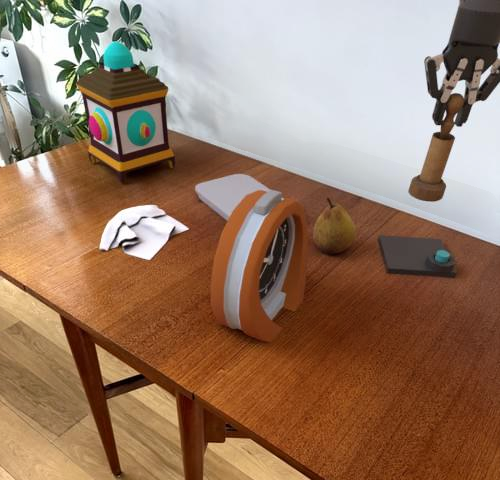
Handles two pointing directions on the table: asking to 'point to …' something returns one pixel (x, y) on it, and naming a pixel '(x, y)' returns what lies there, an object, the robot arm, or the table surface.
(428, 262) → the kitchen scale
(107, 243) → the cloth
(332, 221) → the fruit
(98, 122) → the decorative lantern
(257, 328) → the alarm clock
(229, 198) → the tablet
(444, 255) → the button
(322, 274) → the table surface
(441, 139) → the mortar and pestle
